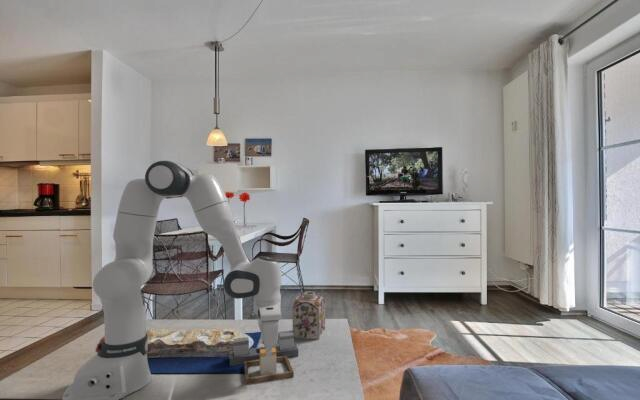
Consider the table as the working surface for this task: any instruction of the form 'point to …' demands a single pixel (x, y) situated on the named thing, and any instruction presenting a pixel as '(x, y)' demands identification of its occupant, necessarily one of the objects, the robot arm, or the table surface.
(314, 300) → the decorative jar
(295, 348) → the fuse holder
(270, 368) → the block
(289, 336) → the right fuse
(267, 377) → the brown wooden frame
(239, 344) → the block
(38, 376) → the table surface
